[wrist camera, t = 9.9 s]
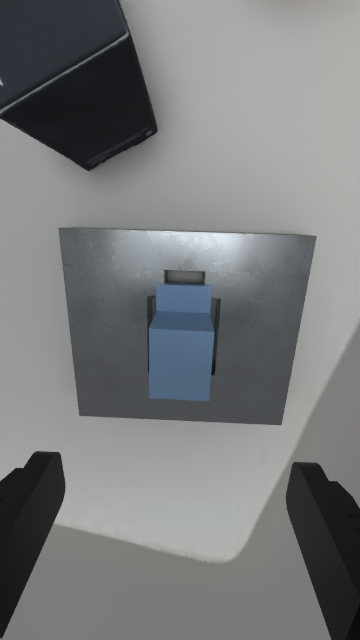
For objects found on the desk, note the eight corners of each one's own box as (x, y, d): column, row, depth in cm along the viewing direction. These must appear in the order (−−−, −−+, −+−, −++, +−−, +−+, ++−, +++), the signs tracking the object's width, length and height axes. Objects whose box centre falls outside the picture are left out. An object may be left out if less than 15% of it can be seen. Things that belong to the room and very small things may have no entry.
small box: (165, 131, 19) (139, 34, 10) (86, 174, 20) (-11, 127, 11) (89, -58, 16) (-64, -490, 6) (1, 4, 17) (-246, -286, 8)
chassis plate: (72, 227, 22) (58, 227, 19) (302, 234, 21) (316, 235, 19) (89, 398, 27) (79, 415, 25) (273, 407, 27) (281, 425, 24)
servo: (160, 275, 23) (148, 297, 16) (209, 277, 23) (217, 299, 16) (159, 371, 26) (149, 422, 19) (202, 373, 26) (206, 425, 19)
